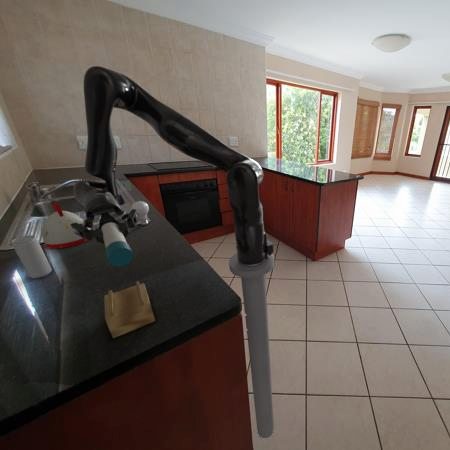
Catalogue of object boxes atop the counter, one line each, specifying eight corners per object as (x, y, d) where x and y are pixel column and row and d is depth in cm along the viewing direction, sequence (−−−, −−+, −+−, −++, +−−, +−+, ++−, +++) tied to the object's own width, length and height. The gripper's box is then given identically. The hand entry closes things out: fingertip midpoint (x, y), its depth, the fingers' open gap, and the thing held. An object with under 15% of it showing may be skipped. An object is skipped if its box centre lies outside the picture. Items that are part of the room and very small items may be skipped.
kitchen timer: (49, 252, 83) (31, 212, 77) (42, 241, 91) (24, 204, 85) (98, 238, 94) (85, 202, 88) (87, 229, 101) (75, 195, 95)
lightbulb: (141, 228, 103) (134, 204, 98) (133, 225, 105) (126, 202, 101) (155, 223, 108) (150, 200, 103) (147, 221, 110) (141, 198, 106)
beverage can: (53, 268, 74) (37, 233, 70) (51, 275, 71) (33, 239, 66) (32, 273, 72) (13, 238, 67) (28, 281, 68) (8, 244, 64)
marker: (103, 239, 56) (96, 224, 54) (123, 233, 58) (117, 219, 56) (112, 269, 46) (104, 252, 44) (136, 261, 48) (129, 244, 47)
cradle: (149, 300, 62) (143, 279, 59) (155, 321, 55) (148, 299, 53) (111, 313, 57) (102, 292, 55) (113, 338, 51) (103, 315, 48)
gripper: (61, 204, 58) (63, 232, 47) (129, 191, 66) (144, 212, 55) (75, 230, 62) (79, 262, 51) (137, 215, 70) (153, 239, 59)
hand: (113, 236), depth 53 cm, fingers closed on marker, 3 cm apart
